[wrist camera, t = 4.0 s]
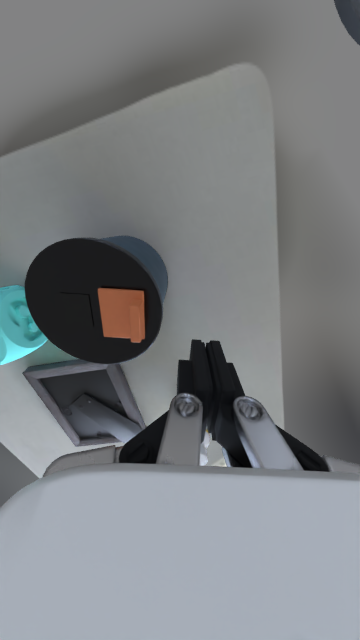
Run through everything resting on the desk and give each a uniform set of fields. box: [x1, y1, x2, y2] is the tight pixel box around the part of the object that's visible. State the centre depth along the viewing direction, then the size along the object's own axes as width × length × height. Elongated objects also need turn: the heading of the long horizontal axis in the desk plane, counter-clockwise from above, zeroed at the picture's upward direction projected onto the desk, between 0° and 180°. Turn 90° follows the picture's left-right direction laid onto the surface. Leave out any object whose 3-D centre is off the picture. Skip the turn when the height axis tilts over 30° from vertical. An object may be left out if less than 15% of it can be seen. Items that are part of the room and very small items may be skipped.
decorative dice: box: [0, 285, 48, 365], centre depth 25 cm, size 8×8×8 cm
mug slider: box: [98, 288, 145, 343], centre depth 15 cm, size 4×4×2 cm
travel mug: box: [25, 236, 168, 364], centre depth 21 cm, size 12×12×11 cm
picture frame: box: [23, 359, 146, 447], centre depth 36 cm, size 16×2×21 cm
